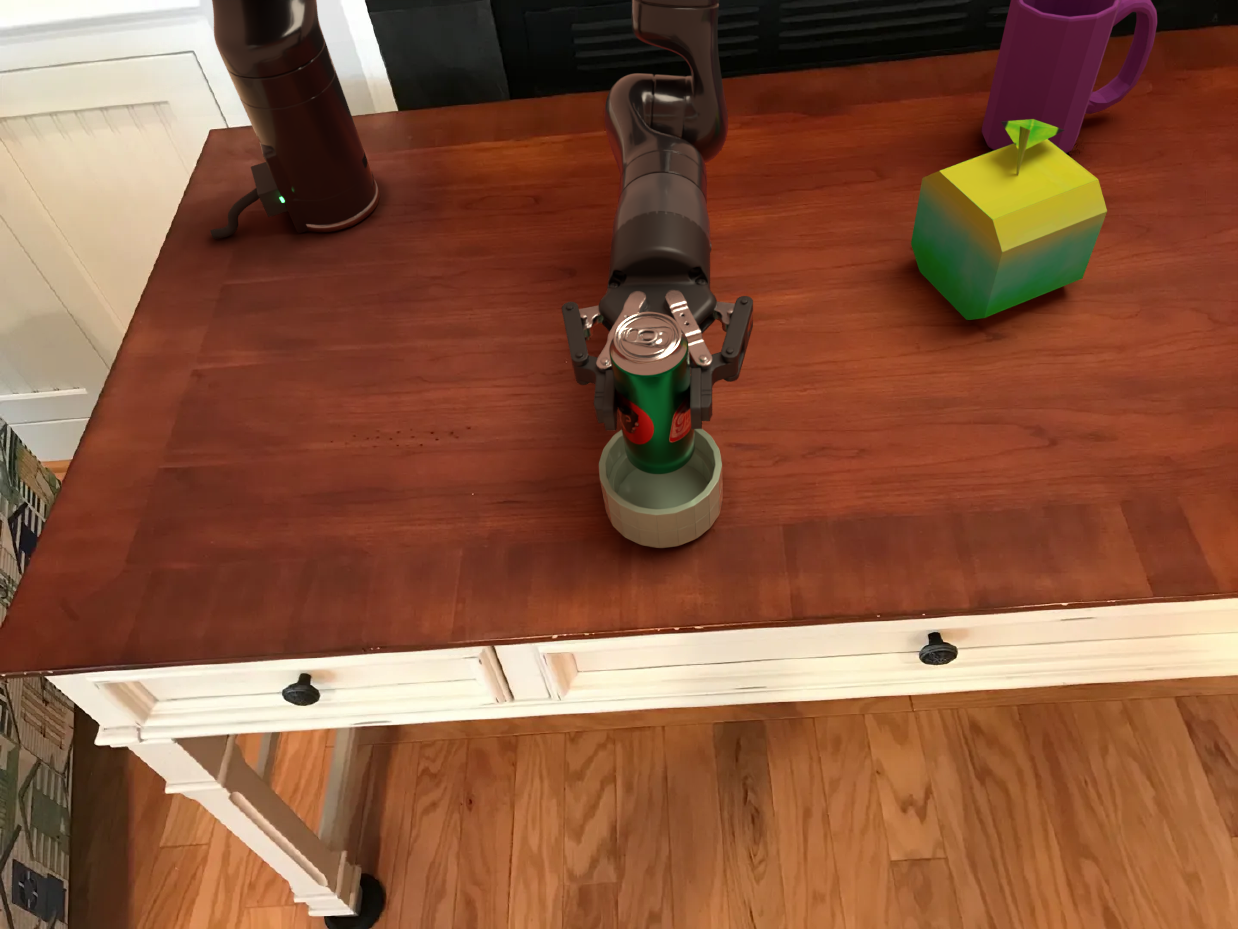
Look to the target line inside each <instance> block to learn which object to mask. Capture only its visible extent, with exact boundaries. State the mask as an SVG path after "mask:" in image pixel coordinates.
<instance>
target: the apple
mask: <svg viewBox="0 0 1238 929" xmlns="http://www.w3.org/2000/svg"><path fill="white" fill-rule="evenodd" d="M1001 123H1002V124H1003V126H1004V128H1005V129H1006V131H1007V132H1008V134H1009V136H1010V137H1011V139H1012V141H1013V142H1014V144H1011V145H1008V146H1005V147H1003V148H1000V149H997V150H995V151H994V150H992V151H988V152H986V153H983V154H981V155H979V156H976V157H972V158H969V159H968V160H967V159H966V160H964V161H962V162H959V163H957V164H954V165H952V166H948V167H946V168H943V169H940V170H938V171H935V172H933V173H931V174H928V175H926V176H924V177H922V179H921V184H920V189H919V196H918V201H917V206H916V212H915V218H914V222H913V229H912V234H911V241H910V246H911V248H912V249H911V250H912V252H913V256H914V258H915V261H916V264H917V267H918V272H919V273H921V275H922V276H923V277H924V278H925V279H926V280H927V281H928V282H929V283H930V284H931V285H932V286H933V287H934V288H935V289H936V290H937V292H939V294H940V295H941V296H943V297H944V298H945V299H946V300H947V302H949V303H950V305H951V306H952V307H953V308H954V309H955V310H956V311H957V312H958V313H959V314H960V315H961V316H962V317H963V318H964V319H965V320H966V321H972V320H979V319H986V318H988V317H991V316H993V315H995V314H998V313H1001V312H1003V311H1005V310H1008V309H1011V308H1012V307H1016V306H1018V305H1020V304H1024V303H1025V302H1028V301H1030V300H1033V299H1036V298H1037V297H1040V296H1043V295H1045V294H1047V293H1050V292H1053V291H1055V290H1058V289H1060V288H1063V287H1065V286H1068V285H1071V284H1073V283H1075V282H1078V281H1080V280H1082V279H1084V275H1085V273H1086V270H1087V268H1088V265H1089V261H1090V259H1091V256H1092V254H1093V251H1094V249H1095V246H1096V244H1097V241H1098V237H1099V235H1100V232H1101V229H1102V226H1103V225H1104V221H1105V219H1106V216H1107V213H1108V209H1107V205H1106V202H1105V198H1104V195H1103V190H1102V187H1101V184H1100V181H1099V178H1097V177H1096V176H1095V175H1093V173H1091V172H1090V171H1088V170H1087V169H1086V168H1085V167H1083V166H1082V165H1081V164H1079V163H1078V162H1077V161H1076V160H1074V158H1072V157H1070V156H1069V155H1068V154H1067V153H1064V152H1063V151H1062V150H1060V149H1059V148H1058V147H1057V146H1055V145H1054V144H1053V143H1052V142H1050V141H1049V140H1048V138H1050V137H1052V136H1054V135H1056V134H1058V133H1060V132H1062V131H1064V129H1061V128H1058V127H1055V126H1052V125H1049V124H1046V123H1043V122H1040V121H1037V120H1034V119H1029V120H1015V121H1002V122H1001Z"/></svg>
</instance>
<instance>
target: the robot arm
mask: <svg viewBox="0 0 1238 929" xmlns="http://www.w3.org/2000/svg"><path fill="white" fill-rule="evenodd" d="M719 3H720V0H631V15H630V16H631V18H630V19H631V30H632V33H633V35H634V36H635V37H636V38H637V39H638V40H639V41H641V42H643V43H645V44H648V45H651V46H653V47H658V48H661V49H664V50H667V51H670V52H673V53H675V54H677V55H679V56H681V58H682V59H684V61H685V62H686V63H687V65H688V66H689V69H690V75H687V76H685V75H670V74H658V73H657V74H653V73H642V72H641V73H639V72H636V73H630V74H626V75H625V76H622V77H621V78H619V79H618V80H617V81H616V82H615V83H614V84H613V85H612V87H611V88H610V90H609V91H608V93H607V96H606V100H605V105H604V126H605V131H606V136H607V140H608V143H609V144H608V145H609V148H610V150H611V152H612V155H613V158H614V160H615V162H616V165H617V168H618V171H619V186H618V199H617V206H616V210H615V214H614V217H613V221H612V222H613V223H612V231H611V243H610V253H609V266H608V277H607V286H606V288H607V289H606V291H605V294H604V295H603V296H602V298H600V301H599V303H598V305H593V306H589V307H583V308H580V306H579V304H578V303H577V302H575V301H567V302H564V303H563V304H562V305H561V314H562V318H563V323H564V329H565V333H566V339H567V344H568V349H569V354H570V359H571V365H572V369H573V376H574V379H575V382H576V383H577V385H580V386H586V385H589V384H593V385H594V394H593V395H594V397H593V408H594V414H595V418H596V420H597V423H598V424H603V425H604V429H605V430H604V431H606V432H611V431H614V432H615V431H617V426H618V416H619V415H618V414H619V410H618V403H617V397H616V391H615V385H614V379H613V373H612V367H611V360H610V354H609V348H610V343H611V341H612V339H613V337H614V333H615V330H616V328H617V326H618V325H619V324H620V323H621V322H622V321H623V320H625V319H626V318H628V317H629V316H632V315H634V314H637V313H641V312H659V313H663V314H666V315H668V316H670V317H672V318H673V319H674V320H675V321H676V322H677V323H678V325H679V326H680V328H681V330H682V331H683V332H684V334H685V335H686V337H687V340H688V346H689V360H690V375H691V390H690V415H691V429H703V422H710V421H711V419H712V417H713V387H714V385H715V384H716V383H717V382H719V381H722V380H724V381H725V382H735V381H737V380H738V379H739V377H740V375H741V371H742V367H743V364H744V360H745V357H746V356H745V355H746V352H747V349H748V346H749V341H750V339H751V335H752V331H753V328H754V299H753V298H752V297H751V296H749V295H741V296H739V297H737V298H736V300H735V302H725V301H718V300H717V297H716V296H715V294H714V293H713V291H712V290H711V252H712V241H711V223H710V217H709V213H708V197H707V196H708V171H707V166H706V165H707V164H706V163H708V162H710V161H712V160H714V159H715V157H716V156H718V155H719V153H720V152H721V150H722V149H723V147H724V145H725V143H726V140H727V137H728V132H729V114H728V107H727V100H726V95H725V94H726V93H725V89H724V83H723V77H722V73H721V65H720V57H719V56H720V55H719V43H718V36H719V35H718V25H719V21H718V20H719V9H720V7H719V6H720V4H719ZM211 4H212V10H213V11H212V12H213V38H214V42H215V45H216V48H217V51H218V53H219V55H220V58H221V60H222V62H223V64H224V67H225V68H226V71H227V73H228V76H229V77H230V80H231V82H232V84H233V86H234V89H235V90H236V93H237V95H238V97H239V100H240V102H241V104H242V106H243V109H244V111H245V113H246V115H247V117H248V120H249V122H250V125H251V127H252V129H253V131H254V134H255V135H256V138H257V140H258V144H259V146H260V150H261V153H262V157H263V159H264V162H261V163H258V164H255V165H251V166H250V170H251V174H252V177H253V182H254V185H255V188H253V190H251V191H250V192H248V193H247V194H245V195H243V196H242V197H241V198H240V199H238V200H237V201H236V202H235V203H234V204H233V205H232V206H231V207H230V209H229V210H228V213H227V225H225V226H224V227H219V228H213V229H209V232H210V235H211V237H212V239H213V240H217V239H222V238H227V237H230V236H232V235H234V234H235V233H236V232H237V230H238V228H239V217H240V216H241V214H242V212H243V211H245V209H247V208H248V207H249V206H251V205H252V204H253V203H256V201H258V200H260V202H261V204H262V207H263V208H264V211H265V212H266V216H267V217H268V218H271V217H274V216H277V215H280V214H283V213H286V212H288V214H289V217H290V219H291V221H292V223H293V226H294V228H295V230H296V232H297V234H302V233H306V232H313V233H332V232H336V231H341V230H344V229H347V228H350V227H353V226H355V225H356V224H359V223H360V222H362V221H363V220H364V219H367V217H368V216H370V215H371V213H372V212H374V210H375V209H376V207H377V206H378V204H379V201H380V197H381V193H380V190H379V186H378V184H377V183H378V182H377V181H376V180H375V176H374V174H373V171H372V169H371V165H370V163H369V162H370V160H369V157H368V156H367V154H366V151H365V148H364V147H363V146H364V145H363V144H362V141H361V138H360V135H359V133H358V129H357V127H356V123H355V121H354V118H353V116H352V113H351V110H350V108H349V104H348V101H347V98H346V96H345V92H344V90H343V87H342V85H341V84H342V83H341V81H340V79H339V76H338V73H337V70H336V68H335V63H334V62H333V59H332V56H331V53H330V50H329V47H328V45H327V42H326V39H325V37H324V33H323V30H322V27H321V23H320V20H319V13H318V12H319V11H318V1H317V0H211ZM716 320H717V321H718V322H720V323H721V329H722V331H723V332H724V333H725V336H724V339H723V343H722V346H721V349H720V351H718V352H715V353H712V354H711V352H710V350H709V348H708V346H707V344H706V343H705V340H704V338H703V334H704V333H705V332H706V331H707V330H708V329H709V328H710V327H711V325H713V324H714V323H715V321H716ZM600 324H601V325H602V326H603V327H604V328H605V329H606V330H607V331H608V334H607V340H606V344H604V347H603V349H602V350H601V352H600V354H599V355H598V356H594V355H590V354H589V351H588V346H587V342H589V341H590V340H591V339H592V336H593V335H594V333H595V329H596V326H599V325H600Z"/></svg>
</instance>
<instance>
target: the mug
mask: <svg viewBox="0 0 1238 929" xmlns="http://www.w3.org/2000/svg"><path fill="white" fill-rule="evenodd" d="M1133 12H1134V13H1136V23H1135V27H1134V32H1133V37H1132V41H1131V43H1130V46H1129V49H1128V52H1127V54H1126V57H1125V60H1124V62H1123V64H1122V65H1121V67H1120V70H1119V72H1118V74H1117V75H1115V76H1114V78H1112V79H1111V80H1110V81H1109V82H1108V83H1107V84H1106V85H1104V86H1102V87H1100V88H1099V89H1097V90H1096V91H1093V90H1094V88H1095V84H1096V82H1097V78H1098V74H1099V71H1100V68H1101V65H1102V62H1103V59H1104V55H1105V53H1106V49H1107V46H1108V43H1109V41H1110V37H1111V33H1112V30H1113V27H1114V26H1116V25H1117V24H1118V23H1120V22H1121V21H1123V20H1124V19H1125V18H1126V17H1127V16H1129V15H1130V14H1131V13H1133ZM1005 20H1006V21H1005V25H1004V30H1003V34H1002V39H1001V42H1000V46H999V51H998V56H997V60H996V64H995V69H994V74H993V77H992V82H991V87H990V90H989V95H988V100H987V103H986V104H987V105H986V108H985V113H984V117H983V121H982V126H981V134H982V136H983V138H984V140H985V141H984V142H985V143H986V145H987V147H988V148H989V149H991V150H992V151H995V150H997V149H1000V148H1003V147H1005V146H1008V145H1011V144H1014V142H1013V141H1012V139H1011V137H1010V136H1009V134H1008V132H1007V131H1006V129H1005V128H1004V126H1003V124H1002V123H1001V122H1002V121H1015V120H1029V119H1034V120H1037V121H1040V122H1043V123H1046V124H1049V125H1052V126H1055V127H1058V128H1061V129H1064V131H1062V132H1060V133H1058V134H1056V135H1054V136H1052V137H1050V138H1048V140H1049V141H1050V142H1052V143H1053V144H1054V145H1055V146H1057V147H1058V148H1059V149H1060V150H1062V151H1063V152H1064V153H1066V154H1067V153H1069V152H1071V151H1072V150H1073V148H1074V147H1075V144H1076V142H1077V140H1078V137H1079V136H1080V132H1081V128H1082V125H1083V122H1084V119H1085V115H1086V114H1088V115H1092V114H1096V113H1099V112H1102V111H1105V110H1107V109H1108V108H1110V107H1112V106H1114V105H1115V104H1118V103H1119V102H1121V101H1122V100H1123V99H1124V98H1125V97H1126V96H1127V95H1128V94H1129V93H1130V92H1131V90H1132V89H1134V88H1135V87H1136V85H1137V83H1138V82H1139V80H1140V78H1141V76H1142V74H1143V72H1144V70H1145V69H1146V66H1147V63H1148V60H1149V57H1150V55H1151V53H1152V49H1153V47H1154V43H1155V38H1156V32H1157V27H1158V14H1157V9H1156V7H1155V5H1154V3H1153V2H1152V0H1010V4H1009V9H1008V12H1007V17H1006V19H1005Z"/></svg>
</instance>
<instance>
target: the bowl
mask: <svg viewBox="0 0 1238 929" xmlns="http://www.w3.org/2000/svg"><path fill="white" fill-rule="evenodd" d="M694 434H695V450H694V453H693V456H692V458H691V459H690V460H689V462H688V463H687V464H686V465H684V466H683V467H682V468H680V469H678V470H676V471H674V472H671V473H667V474H650V473H646V472H643V471H641V470H639V469H637V468H636V467H634V466H633V465H632V464H631V462H630V461H629V460H628V458H627V456H626V452H625V446H624V440H623V434H622V429H620V430H618V431H617V432H616V433H615V434H614V435H612V437H610V439H609V441H608V442H607V443H606V445H605V446H604V447H603V450H602V452H601V456H600V458H599V460H598V473H599V474H598V475H599V482H600V486H601V493H602V498H603V503H604V508H605V512H606V515H607V517H608V519H609V521H610V523H611V525H612V527H613V528H614V529H615V530H616V531H617V532H618V533H620V535H622V537H624V538H625V539H626V540H629V541H631V542H634V543H635V544H638V545H640V546H642V547H643V546H645V547H650V548H656V549H665V548H673V547H675V548H676V547H679V546H682V545H684V544H687V543H689V542H692V541H694V540H696V539H699V538H700V537H701V536H703V534H705V533H706V532H708V531H709V530H710V528H712V527H713V525H714V523H715V521H717V519H718V517H719V516H720V514H721V511H722V510H721V509H722V506H723V501H724V491H723V490H724V488H723V487H724V486H723V461H722V455H721V450H720V448H719V446H718V444H717V442H716V441H715V440H714V438H713V436H712V435H711V434H710V433H708V432H707V431H706V430H704V428H702V429H694Z"/></svg>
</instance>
